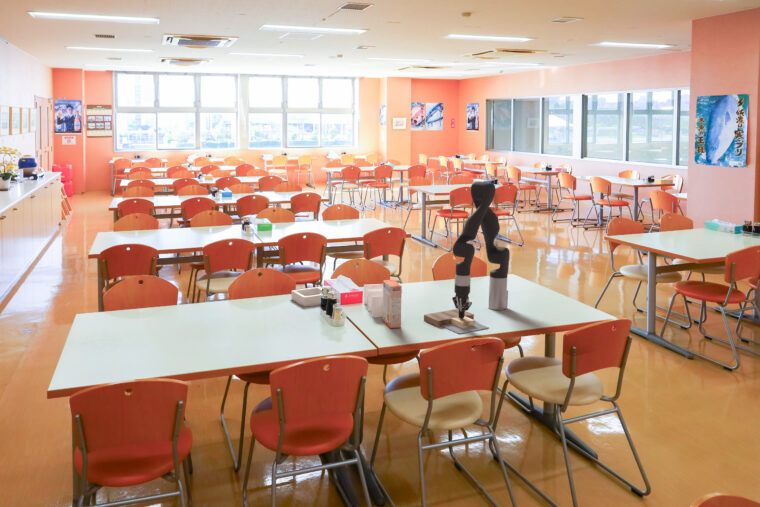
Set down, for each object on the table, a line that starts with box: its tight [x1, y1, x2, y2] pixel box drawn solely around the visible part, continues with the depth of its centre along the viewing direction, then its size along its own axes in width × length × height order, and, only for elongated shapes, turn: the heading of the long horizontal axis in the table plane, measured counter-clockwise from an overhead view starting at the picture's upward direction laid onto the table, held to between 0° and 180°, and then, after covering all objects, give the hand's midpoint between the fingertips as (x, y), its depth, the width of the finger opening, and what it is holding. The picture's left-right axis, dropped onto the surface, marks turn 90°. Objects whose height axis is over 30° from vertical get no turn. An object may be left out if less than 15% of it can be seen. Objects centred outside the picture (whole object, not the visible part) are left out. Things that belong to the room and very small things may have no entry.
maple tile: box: [451, 316, 476, 329], centre depth 313 cm, size 8×8×3 cm
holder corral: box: [291, 286, 323, 307], centre depth 356 cm, size 17×17×5 cm
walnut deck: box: [423, 308, 475, 328], centre depth 322 cm, size 22×12×3 cm, turn 121°
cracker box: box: [382, 279, 403, 329], centre depth 314 cm, size 14×6×21 cm, turn 14°
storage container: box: [363, 283, 383, 318], centre depth 339 cm, size 25×11×11 cm, turn 11°
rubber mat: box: [441, 321, 490, 335], centre depth 312 cm, size 18×15×1 cm
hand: (461, 318), depth 313 cm, fingers closed
